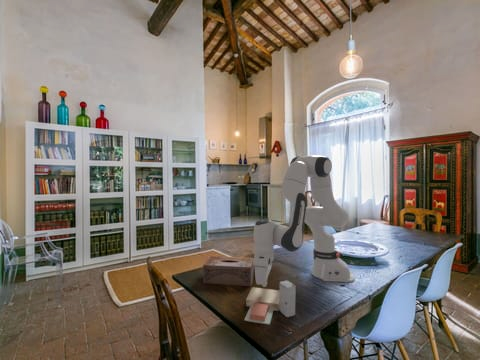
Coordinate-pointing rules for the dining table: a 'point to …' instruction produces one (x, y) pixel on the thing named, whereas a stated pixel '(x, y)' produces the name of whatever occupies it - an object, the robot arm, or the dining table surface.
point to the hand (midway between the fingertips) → (264, 285)
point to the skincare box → (287, 298)
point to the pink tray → (259, 311)
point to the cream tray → (263, 297)
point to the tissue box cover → (228, 270)
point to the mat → (267, 320)
